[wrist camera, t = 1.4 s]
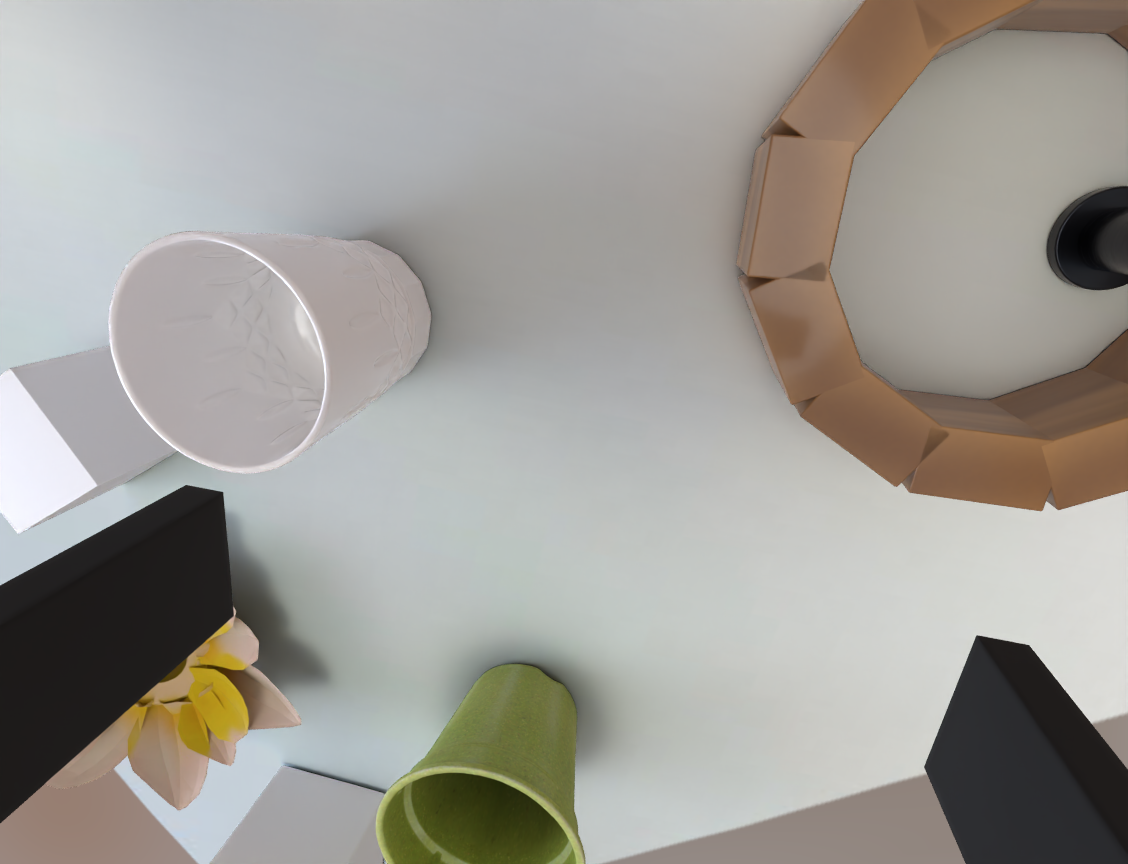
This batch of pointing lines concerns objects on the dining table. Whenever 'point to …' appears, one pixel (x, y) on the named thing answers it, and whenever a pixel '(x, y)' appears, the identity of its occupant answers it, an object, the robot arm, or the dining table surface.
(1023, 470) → the ring
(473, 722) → the plant pot
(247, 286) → the white cup
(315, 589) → the dining table surface
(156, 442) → the white cube
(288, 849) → the milk carton
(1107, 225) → the peg
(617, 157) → the dining table surface
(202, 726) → the decorative flower
